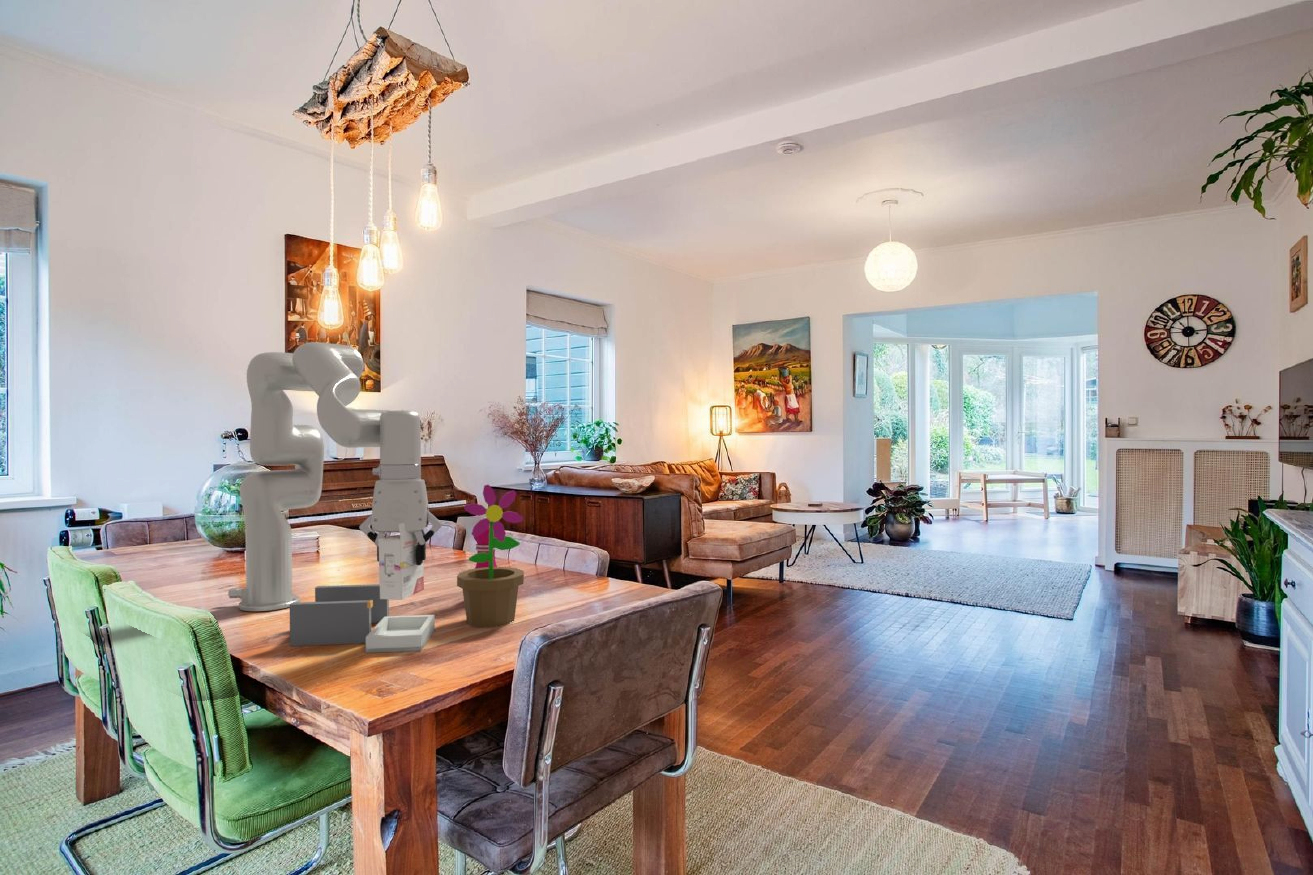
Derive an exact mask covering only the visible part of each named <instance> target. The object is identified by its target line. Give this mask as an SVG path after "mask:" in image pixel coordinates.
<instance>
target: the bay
mask: <svg viewBox="0 0 1313 875" xmlns="http://www.w3.org/2000/svg"><path fill="white" fill-rule="evenodd" d="M389 605H390V599H380V583H378V584H377V583H375V584H373V583H372V584H347V585H346V584H345V585H339V584H338V585H317V586H316V587H314V601H303V602H299V603H292V604H290V607H289V646H290V647H300V646H302V647H304V646H329V645H349V644H351V645H352V644H353V645H354V644H366V636H367V635H368V634H369V633H370V632H371V631H372V624H378V623H379V622H380V621H381V620H382V619H383V618H384V617H386V616H390V606H389Z"/></svg>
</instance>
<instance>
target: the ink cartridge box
mask: <svg viewBox="0 0 1313 875" xmlns="http://www.w3.org/2000/svg"><path fill="white" fill-rule="evenodd" d="M378 542H379V561H378V565H379V566H378V570H379V573H378V576H379V577H378V578H379V584H380V599H389V601H390V600H391V601H393V600H394V601H403V600H405V599H407V598H410V597H412V596H414V595H415V594H418V593H421V592H422V591H424V589H425V586H424V585H425V584H424V582H425V581H424V579H425V578H424V576H425V575H424V574H425V573H424V562H423V563H422V564H421V565H416V545H418V540H417V538H416V536H415V533H414V532H406V531H405V523H400V524H399V532H398V533H395V534H392V535H389V536H387V537H385V538H381V539H378Z"/></svg>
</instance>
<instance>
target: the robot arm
mask: <svg viewBox="0 0 1313 875" xmlns="http://www.w3.org/2000/svg"><path fill="white" fill-rule="evenodd" d="M364 369H365V362H364V359H363V357H362V355H361V353H360V352H359V351H358V349H356V348H355V347H354V346H351V345H347V344H339V343H329V342H321V341H312V342H310V341H309V342H305V343H303V344H300V345H299V346H298V347H297V348H296V349H294V352H282V351H281V352H279V351H278V352H277V351H275V352H274V351H270V352H263V353H259V354H257V355H254V356H253V358H252V359H250V361H249V364H248V366H247V369H246V384H247V389H248V393H249V398H250V403H251V410H250V411H251V413H250V430H249V431H250V435H249V453H250V454H249V455H250V457H251V459H252V461H253V462H254V463H255V464H258V465H261V466H289V465H290V466H291V465H294V469H278V470H277V469H276V470H275V469H274V470H262V471H257V472H253V473H250V474H248V475H247V476H245V477H244V478H243V479H242V481H241V483H240V486H239V496H240V500H241V505H242V510H243V516H244V528H245V529H244V533H245V581H246V582H245V583H246V584H245V587H243V588H230V589H228V593H227V594H228V598H229V599H240V600H241V601H239V603H238V608H239V610H240V611H245V612H268V611H276V610H281V609H286V608H290V604H292V603H299V602H300V600H301V598H300V596H299V595H297V594H293V551H292V550H293V547H292V546H293V545H292V544H293V541H292V540H293V539H292V538H293V537H292V534H293V533H292V532H293V531H292V528H291V525H290V523H289V521H288V520H287V519H286V517H285V516H284V515H283V514H282V511H286V510H297V509H304V508H305V509H307V508H310V507H313V506H315V505H316V504H317V503H318V502H319V500H320V498H321V495H322V489H323V478H324V477H323V476H324V475H323V474H324V458H325V443H324V439H323V436H322V434H321V432H320V431H319V430H318V428H316V427H314V426H312V425H308V424H293V416H294V406H293V403H292V402H291V399H290V397H289V396H288V395H287V393H286V392H285V391H295V392H314V393H316V395H317V396H318V399H317V403H316V415H317V420H318V422H319V425H320V427H321V428H322V430H323V431H324V432H325V434H327V435H328V437H329V438H330V439H331V440H332V441H333V442H335V443H336V444H337V445H339V446H341V447H344V448H349V449H354V448H357V449H358V448H379V464H378V466H377V467H372V475H373V476H374V475H376V476H378V477H379V480H375V485H374V488H373V489H374V490H373V497H372V504H371V506H372V507H371V508H372V509H371V514H370V515H369V516H367V518H366V519H365V520H363V522H362V523H361V524H360V525H359V530H360V531H361V532H362V533H363V534H365V536H367V537H368V539H369V540H371V542H373V543H374V545H375V546H376V561H377V562H379V542H378V539H381V538H385V537H388V534H389V533H400V532H399V524H400V523H405V531H406V532H414V533H415V536H416V538H417V540H418V545H416V565H421V564H422V563H423V564H424V561H426V558H427V556H426V555H427V545H426V543H427V542H429V540H430V539H431V538H432V537H433V536H434V535H435V534H436V533H437V532H438V531H439V530H441V528H442V527H443V523H442V522H441V521H440V520H439V519H438V518H437V517H436V516H435V515H434V514H433V513H432V512H430V510H429V500H428V492H427V486H426V482H425V479H423V478H422V471H421V470H422V464H421V463H422V459H421V457H422V455H421V453H422V452H421V449H422V448H421V444H422V443H421V441H422V440H421V439H422V437H421V417H420V414H419V413H418V412H416V411H414V410H399V409H398V410H387V409H361V408H359V409H356V408H355V409H351V408H348V407H347V406H349V405H350V404H352V403H353V402H354V401H355V400H356V398H358V396H359V394H360V391H361V381H360V378H361V377H362V376H363V373H364ZM429 523H430V525H432V527H431V528H430V529H429V530H428V531H427V532H426V531H425V530H424V529H425V528H427V527H428V526H429Z"/></svg>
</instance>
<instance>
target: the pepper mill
mask: <svg viewBox="0 0 1313 875" xmlns="http://www.w3.org/2000/svg"><path fill="white" fill-rule="evenodd" d="M485 518H486V516H484V517H483V518H482V519H485ZM489 528H490V523H489V527H488V528H487V529H486V530H485V532H484V533H483V534H481V535H478V536H476V537H474V536H473V539H474V541H475V542H476V544H475V551H477V552H476V554H477V553H482V552H483V553H489ZM493 538H495V535H493ZM496 550H498V549H497V548H494V547H493V567H498V564H497V562H496V556H495V555H496ZM484 567H489V560H488V561H486V562H483V563H476V565H475V567H474V569H477V568H484Z"/></svg>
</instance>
